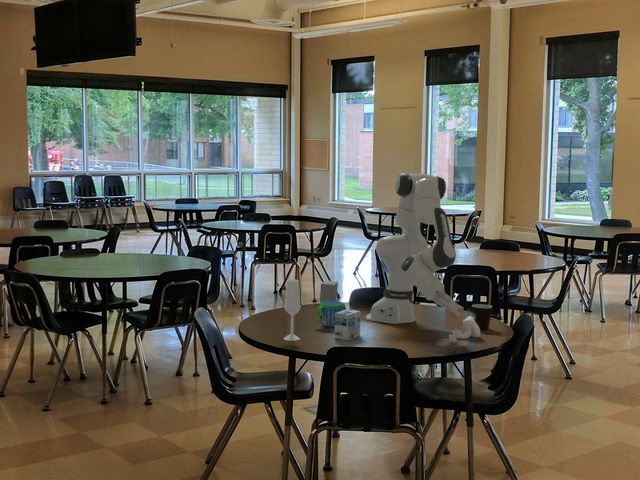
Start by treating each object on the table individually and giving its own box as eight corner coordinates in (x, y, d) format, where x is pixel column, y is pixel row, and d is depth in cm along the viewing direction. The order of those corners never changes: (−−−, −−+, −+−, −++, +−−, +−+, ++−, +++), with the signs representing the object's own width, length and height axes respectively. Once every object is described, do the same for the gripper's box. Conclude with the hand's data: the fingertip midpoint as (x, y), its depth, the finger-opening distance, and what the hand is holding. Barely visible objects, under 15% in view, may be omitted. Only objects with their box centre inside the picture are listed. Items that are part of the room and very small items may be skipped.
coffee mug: (491, 331, 364) (492, 308, 363) (470, 329, 366) (471, 307, 365) (491, 325, 376) (492, 303, 374) (471, 324, 377) (472, 302, 376)
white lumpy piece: (459, 342, 342) (460, 321, 341) (443, 336, 353) (444, 315, 352) (482, 340, 346) (483, 319, 345) (466, 334, 357) (467, 313, 356)
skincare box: (323, 313, 394) (323, 280, 393) (337, 314, 392) (338, 281, 391) (318, 316, 386) (319, 282, 384) (333, 317, 384) (334, 283, 383)
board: (434, 347, 333) (435, 344, 333) (440, 340, 345) (440, 338, 344) (465, 350, 329) (465, 347, 329) (469, 343, 341) (470, 341, 341)
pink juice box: (449, 330, 332) (450, 305, 331) (444, 326, 339) (445, 302, 337) (462, 329, 334) (463, 305, 332) (457, 326, 340) (458, 302, 339)
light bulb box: (347, 340, 341) (348, 314, 339) (333, 338, 344) (334, 312, 343) (360, 336, 350) (361, 310, 348) (346, 333, 353) (347, 308, 352)
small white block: (448, 343, 336) (448, 336, 336) (449, 341, 339) (449, 334, 338) (455, 344, 335) (456, 336, 335) (457, 342, 338) (457, 335, 337)
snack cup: (322, 329, 359) (323, 306, 358) (309, 325, 368) (310, 302, 367) (352, 326, 368) (353, 303, 367) (338, 321, 377) (339, 299, 375)
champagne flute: (284, 336, 346) (285, 278, 343) (301, 337, 345) (302, 279, 342) (282, 340, 339) (283, 281, 336) (298, 340, 338) (300, 282, 336)
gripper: (447, 288, 323) (470, 313, 326) (430, 280, 343) (452, 303, 346) (436, 300, 322) (459, 324, 325) (419, 291, 342) (441, 314, 345)
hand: (455, 313), depth 336 cm, fingers closed on pink juice box, 6 cm apart
